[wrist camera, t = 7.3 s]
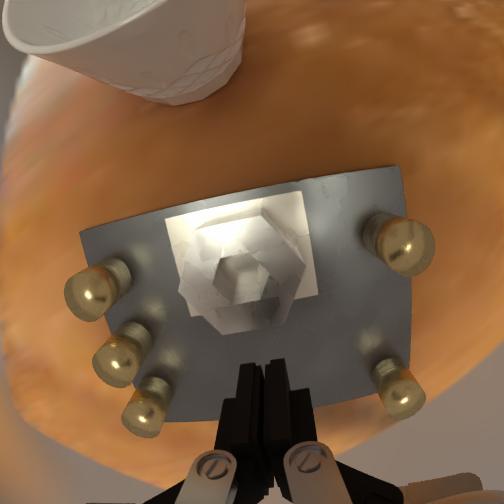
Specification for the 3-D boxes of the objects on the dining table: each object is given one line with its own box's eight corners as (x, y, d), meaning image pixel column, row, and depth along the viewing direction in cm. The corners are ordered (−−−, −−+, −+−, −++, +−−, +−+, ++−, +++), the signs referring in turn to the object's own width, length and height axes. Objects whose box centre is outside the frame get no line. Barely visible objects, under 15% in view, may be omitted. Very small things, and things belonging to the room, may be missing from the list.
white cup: (244, -12, 13) (229, -135, 3) (265, 102, 14) (269, -6, 5) (117, 19, 13) (26, -61, 3) (122, 132, 15) (-13, 99, 5)
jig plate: (84, 230, 16) (43, 244, 12) (395, 165, 15) (432, 163, 11) (154, 416, 19) (138, 454, 15) (404, 378, 18) (426, 414, 14)
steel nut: (177, 228, 15) (162, 237, 13) (290, 203, 15) (295, 208, 12) (202, 317, 16) (193, 339, 14) (307, 297, 16) (315, 317, 14)
